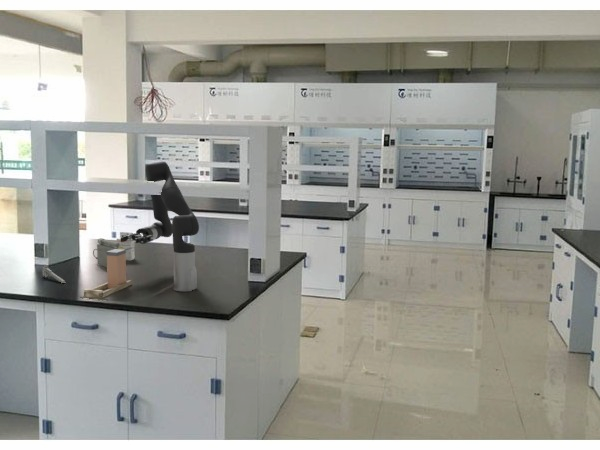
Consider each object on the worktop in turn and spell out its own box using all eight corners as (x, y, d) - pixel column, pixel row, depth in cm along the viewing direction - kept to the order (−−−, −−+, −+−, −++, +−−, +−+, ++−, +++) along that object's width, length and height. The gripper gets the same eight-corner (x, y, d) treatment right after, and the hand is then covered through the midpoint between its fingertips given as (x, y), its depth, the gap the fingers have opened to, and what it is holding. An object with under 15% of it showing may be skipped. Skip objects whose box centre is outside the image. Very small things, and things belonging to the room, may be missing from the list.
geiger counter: (124, 242, 303) (98, 236, 320) (113, 243, 298) (87, 237, 315) (125, 269, 305) (99, 261, 321) (113, 271, 300) (88, 263, 317)
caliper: (42, 277, 286) (42, 264, 285) (45, 276, 287) (44, 264, 286) (64, 284, 273) (63, 271, 272) (66, 284, 274) (65, 270, 273)
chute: (135, 287, 270) (135, 278, 269) (105, 301, 247) (105, 291, 246) (111, 285, 272) (111, 276, 272) (79, 298, 249) (79, 289, 249)
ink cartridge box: (116, 260, 327) (115, 233, 325) (119, 258, 332) (119, 231, 330) (131, 260, 326) (131, 233, 324) (135, 258, 331) (134, 232, 329)
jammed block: (126, 285, 269) (125, 249, 266) (117, 289, 262) (117, 252, 259) (116, 284, 270) (115, 248, 268) (107, 288, 263) (106, 251, 261)
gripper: (133, 226, 290) (114, 231, 275) (160, 227, 287) (143, 233, 271) (133, 241, 292) (114, 247, 276) (160, 243, 288) (143, 249, 272)
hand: (129, 240), depth 273 cm, fingers open, 7 cm apart
